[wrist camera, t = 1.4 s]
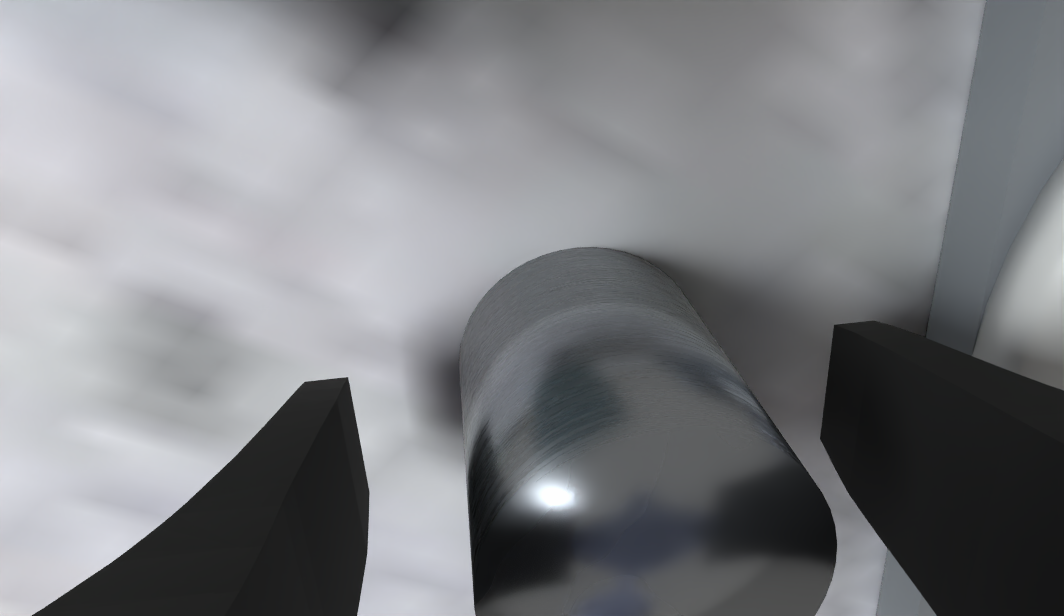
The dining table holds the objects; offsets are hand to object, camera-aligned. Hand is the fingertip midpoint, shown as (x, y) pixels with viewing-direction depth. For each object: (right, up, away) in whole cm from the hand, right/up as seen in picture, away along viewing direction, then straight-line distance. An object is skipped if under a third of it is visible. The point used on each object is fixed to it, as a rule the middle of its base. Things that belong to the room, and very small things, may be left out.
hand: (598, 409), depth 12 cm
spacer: (0, +1, +1) cm, 2 cm away
